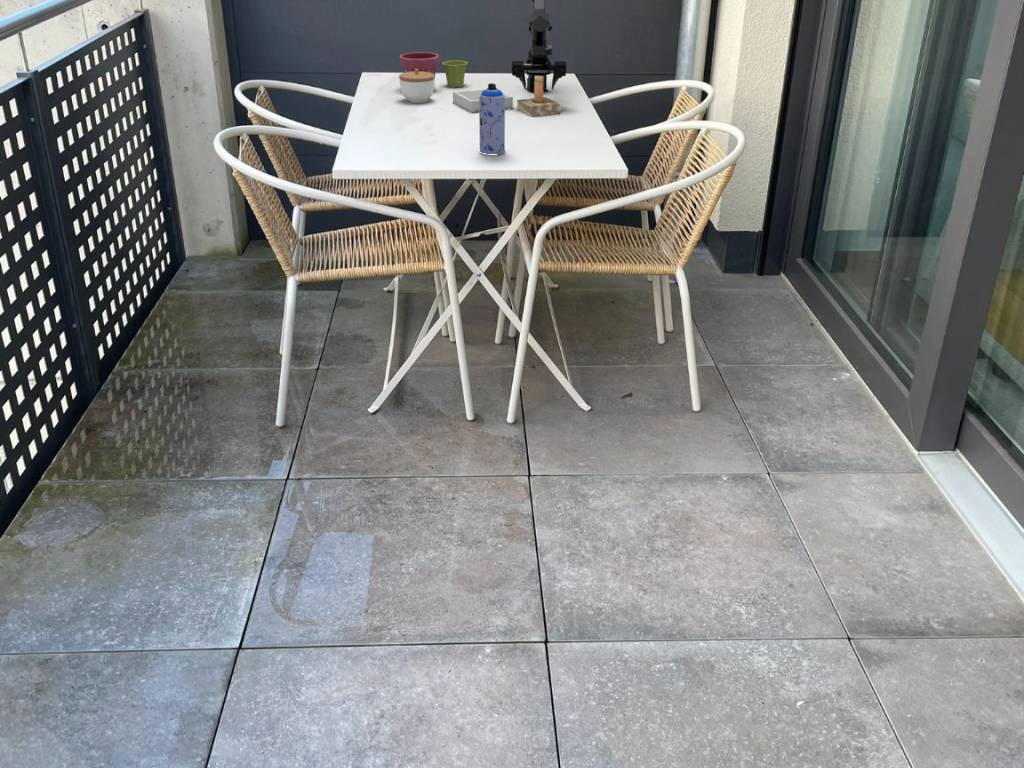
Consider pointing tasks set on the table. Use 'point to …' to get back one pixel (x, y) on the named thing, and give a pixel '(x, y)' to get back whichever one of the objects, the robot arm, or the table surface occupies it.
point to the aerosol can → (492, 120)
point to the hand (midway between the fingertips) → (538, 89)
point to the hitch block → (538, 107)
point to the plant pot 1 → (419, 62)
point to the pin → (538, 89)
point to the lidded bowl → (417, 86)
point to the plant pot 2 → (455, 73)
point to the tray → (475, 100)
